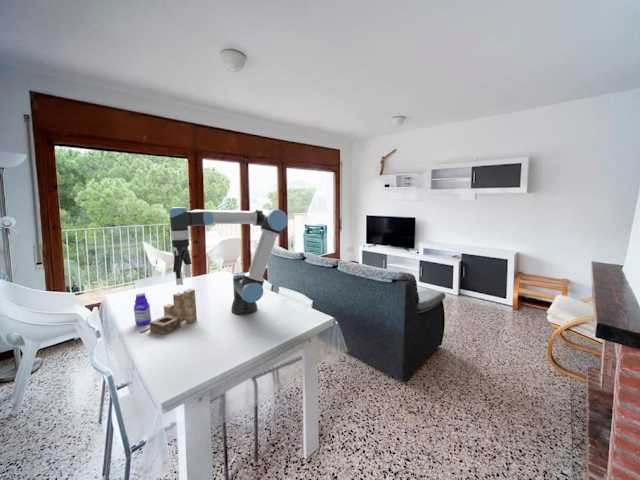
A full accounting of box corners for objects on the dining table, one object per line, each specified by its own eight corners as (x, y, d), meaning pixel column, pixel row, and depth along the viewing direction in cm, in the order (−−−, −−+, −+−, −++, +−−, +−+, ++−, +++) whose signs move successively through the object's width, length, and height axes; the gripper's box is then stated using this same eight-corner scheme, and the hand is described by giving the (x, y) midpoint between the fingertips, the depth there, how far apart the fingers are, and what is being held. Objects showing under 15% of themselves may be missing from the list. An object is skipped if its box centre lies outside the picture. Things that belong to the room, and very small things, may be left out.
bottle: (134, 326, 152) (130, 295, 150) (137, 322, 158) (134, 291, 155) (149, 324, 154) (146, 294, 151) (152, 320, 159) (149, 290, 157)
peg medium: (180, 317, 164) (178, 292, 161) (186, 318, 162) (184, 293, 160) (175, 320, 160) (173, 294, 158) (180, 321, 159) (178, 295, 156)
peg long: (191, 319, 161) (189, 288, 158) (196, 320, 159) (194, 289, 157) (185, 322, 157) (183, 291, 154) (191, 323, 156) (189, 291, 153)
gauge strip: (165, 320, 159) (165, 320, 159) (167, 321, 159) (167, 320, 159) (140, 332, 146) (140, 331, 145) (142, 332, 145) (142, 332, 145)
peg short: (170, 315, 167) (169, 303, 166) (175, 316, 165) (174, 304, 164) (164, 318, 163) (163, 306, 162) (169, 319, 161) (168, 307, 160)
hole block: (167, 323, 155) (166, 315, 155) (181, 326, 152) (180, 317, 151) (150, 331, 146) (149, 322, 146) (164, 335, 143) (163, 325, 142)
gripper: (180, 235, 151) (183, 274, 155) (162, 243, 127) (167, 288, 130) (195, 235, 153) (198, 273, 156) (180, 242, 128) (184, 287, 131)
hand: (184, 280), depth 143 cm, fingers open, 13 cm apart
